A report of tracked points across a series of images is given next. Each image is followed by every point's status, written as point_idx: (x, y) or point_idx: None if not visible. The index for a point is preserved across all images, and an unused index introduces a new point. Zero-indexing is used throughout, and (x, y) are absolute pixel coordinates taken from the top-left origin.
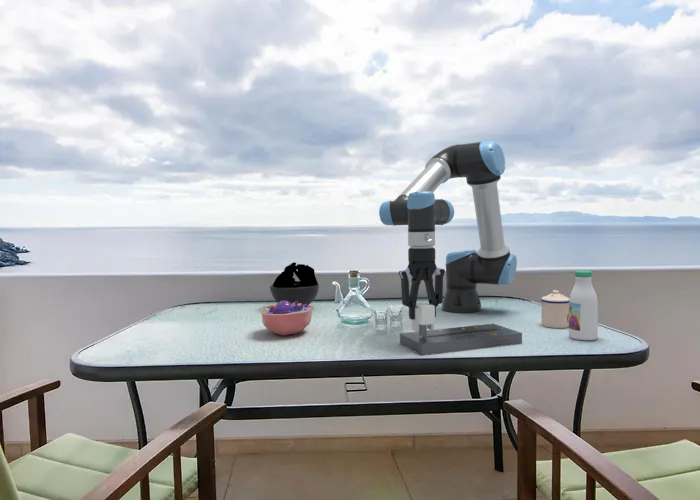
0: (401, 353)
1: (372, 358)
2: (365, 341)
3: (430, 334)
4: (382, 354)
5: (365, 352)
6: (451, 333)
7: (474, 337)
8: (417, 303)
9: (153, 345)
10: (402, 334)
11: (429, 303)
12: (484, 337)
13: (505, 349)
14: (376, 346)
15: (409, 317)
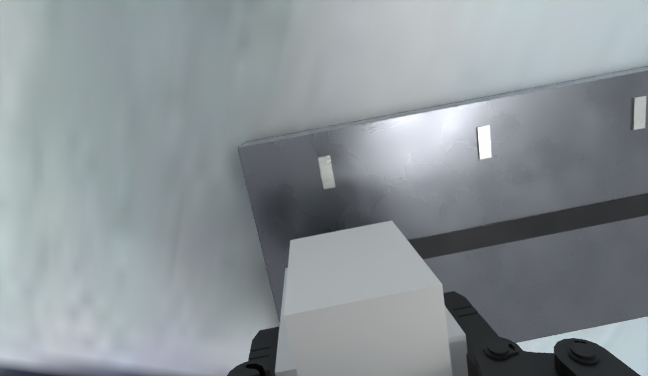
0: (220, 311)
1: (85, 358)
2: (58, 50)
3: (401, 217)
4: (134, 311)
5: (56, 267)
6: (513, 227)
7: (578, 317)
8: (351, 352)
9: None
10: (247, 182)
11: (475, 364)
12: (622, 320)
13: (642, 329)
14: (116, 173)
15: (255, 341)
